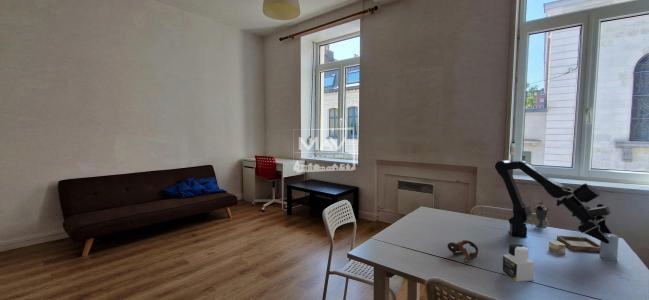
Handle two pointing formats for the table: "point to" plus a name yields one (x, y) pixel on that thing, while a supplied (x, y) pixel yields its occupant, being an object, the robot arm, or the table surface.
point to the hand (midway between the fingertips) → (610, 240)
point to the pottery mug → (463, 249)
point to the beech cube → (557, 247)
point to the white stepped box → (518, 263)
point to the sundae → (541, 214)
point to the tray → (579, 243)
